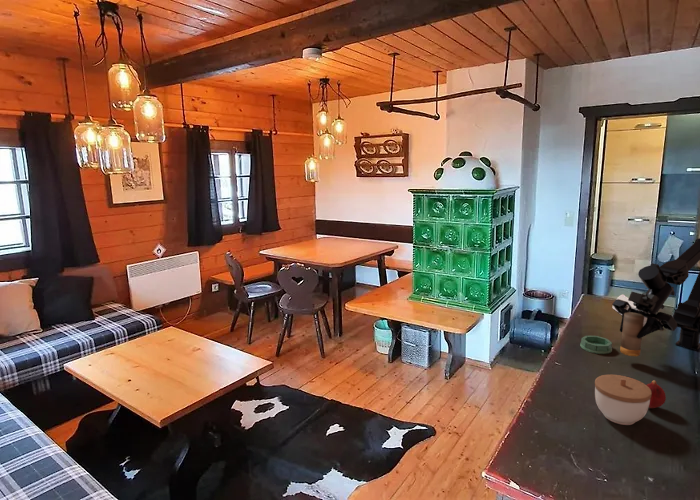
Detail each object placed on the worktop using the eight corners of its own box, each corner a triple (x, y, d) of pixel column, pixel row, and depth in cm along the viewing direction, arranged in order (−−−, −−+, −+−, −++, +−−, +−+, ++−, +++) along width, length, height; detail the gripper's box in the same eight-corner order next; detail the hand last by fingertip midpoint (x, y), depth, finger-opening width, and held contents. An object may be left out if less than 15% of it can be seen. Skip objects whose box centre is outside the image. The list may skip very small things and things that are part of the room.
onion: (668, 414, 117) (671, 387, 116) (644, 412, 119) (647, 385, 117) (657, 403, 123) (661, 376, 121) (635, 401, 124) (638, 375, 123)
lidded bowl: (583, 404, 123) (586, 367, 121) (629, 403, 123) (633, 367, 121) (607, 431, 111) (612, 391, 109) (659, 431, 111) (664, 391, 108)
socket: (587, 340, 165) (588, 332, 165) (616, 348, 158) (617, 340, 157) (575, 347, 159) (575, 340, 159) (605, 356, 152) (605, 349, 151)
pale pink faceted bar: (606, 299, 199) (632, 318, 176) (622, 292, 197) (650, 310, 174) (613, 313, 200) (640, 333, 176) (629, 305, 198) (658, 325, 175)
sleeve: (623, 347, 150) (627, 311, 147) (642, 352, 146) (646, 315, 143) (617, 352, 147) (621, 315, 144) (636, 357, 142) (640, 319, 140)
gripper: (618, 276, 151) (592, 312, 150) (675, 290, 134) (647, 331, 133) (632, 295, 156) (607, 329, 154) (689, 311, 139) (661, 350, 137)
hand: (629, 334), depth 144 cm, fingers closed on sleeve, 5 cm apart
